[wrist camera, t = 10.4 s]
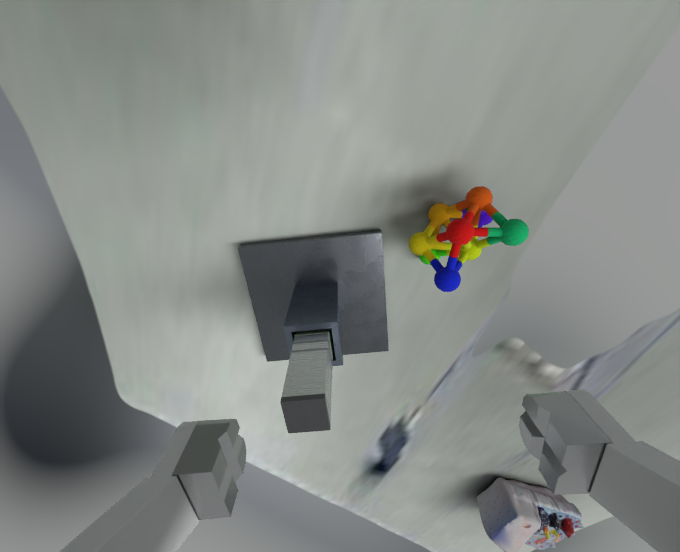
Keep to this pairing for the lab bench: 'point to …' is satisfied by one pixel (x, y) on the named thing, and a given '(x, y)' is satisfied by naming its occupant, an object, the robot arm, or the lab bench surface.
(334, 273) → the dark grey socket base
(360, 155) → the lab bench surface
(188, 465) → the robot arm
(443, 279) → the molecular model
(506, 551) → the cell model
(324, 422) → the post
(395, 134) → the lab bench surface
